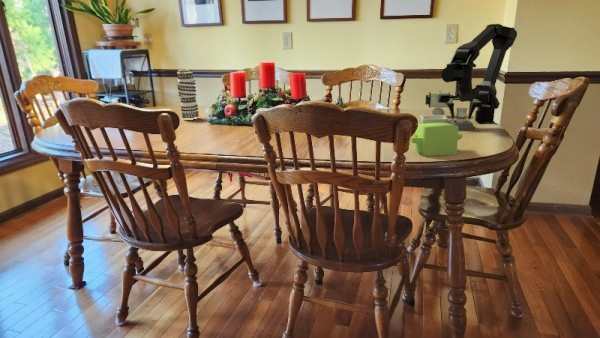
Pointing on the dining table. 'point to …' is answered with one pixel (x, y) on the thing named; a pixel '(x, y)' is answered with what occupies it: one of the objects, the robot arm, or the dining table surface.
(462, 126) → the grey square frame
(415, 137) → the gearbox
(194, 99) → the decorative candle
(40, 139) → the dining table surface
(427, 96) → the pneumatic valve
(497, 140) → the dining table surface
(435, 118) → the parts tray
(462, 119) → the white light bulb
